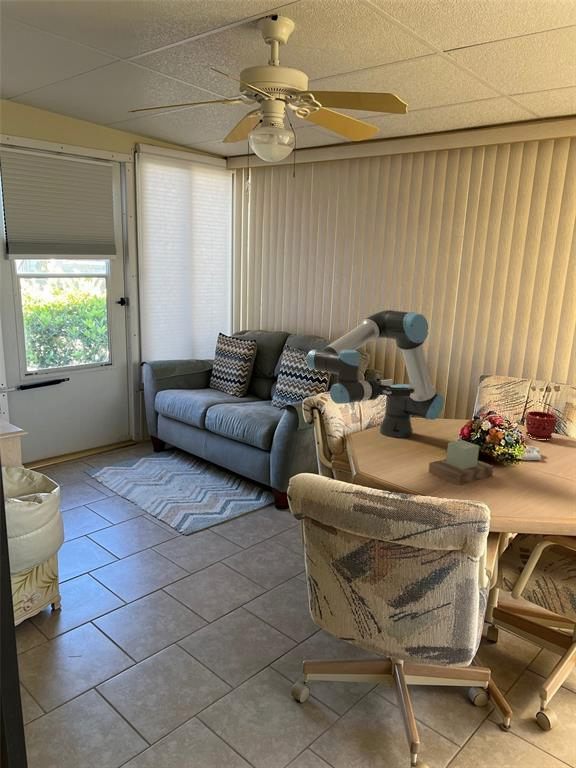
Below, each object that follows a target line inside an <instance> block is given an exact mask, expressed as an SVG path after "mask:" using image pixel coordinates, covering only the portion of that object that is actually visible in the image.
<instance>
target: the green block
mask: <svg viewBox="0 0 576 768" xmlns="http://www.w3.org/2000/svg"><path fill="white" fill-rule="evenodd" d="M479 451H480V445H478V444H476V443H472V442H468V441H466V440H463V439H460V440H455V441H450V442H448V443H447V451H446V458H445V459H446V463H448V464H450V465H453V466H456V467H458V468H461V469H467V468H471V467H475V466H477V460H478V459H479V453H480V452H479ZM478 461H479V460H478Z"/></svg>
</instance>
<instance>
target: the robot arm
mask: <svg viewBox="0 0 576 768" xmlns="http://www.w3.org/2000/svg"><path fill="white" fill-rule="evenodd" d="M428 330H429V324H428V320H427V318H426V317H425V316H424V315H423V314H421V313H417V312H414V311H410V312H407V311H398V310H392V309H387V310H381V311H379V312H375V313H374V314H372V315H368V317H366V318H365V319H363V320H361V322H360V323H359V325H358V326H357V327H355V328H354V329H353V328H352V330H350V331H348V332H347V333H346V334H344V335H342V336H341V337H340V338H338V339H336V340H334V341H333V342H331V343H330V344H328V345H327V346H325V347H324V348H322V349H311V350H310V351H309V352H308V353H307V355H306V360H305V361H306V364H307V367H308V368H310V369H312V370H315V371H319V372H326V373H329V374H334V375H337V382H336V383H333V384H332V385H331V388H330V389H329V396H330V399H331V401H332V402H333V403H335V404H338V405H339V404H340V405H341V404H342V405H343V404H345V405H346V404H351V403H356V402H358V403H361V402H362V401H363V402H365V401H373V400H376V399H378V397H379V396H385V397H386V399H385V401H386V402H385V412H384V413H385V414H384V418H383V419H382V422H381V425H380V426H379V433H380V434H382V435H383V436H387V437H391V438H392V437H393V438H410V437H412V436H413V427H412V421H411V416H413V417H414V416H415V417H417V418H421V419H425V420H431V421H432V420H436V419H438V418H439V416H440V415H441V414H442V410H443V408H444V406H445V397H444V396H443V395H441V394H438V393H437V388H436V387H435V386H434V385H432V382H431V378H430V373H429V369H428V364H427V361H426V360H427V359H426V355H425V351H424V347H423V345H424V343H425V342H426V340H427V337H428V335H429V332H428ZM384 338H385V339H391V340H394V341H395V344H396V347H397V348H398V349H399V350H401V351H402V353H401V354H402V356H403V361H404V365H405V368H406V372H407V377H408V381H409V383H408V384H406V383H402V384H399V383H398V384H393V382H394V379H392V378H390V379H381V380H380V378H376V379H367V380H359V374H360V373H359V371H360V352H359V351H357V350H358V349H360V348H362V347H363V346H364V345H367V343H368V342H372V341H373V342H374V341H376V340H377V339H384Z"/></svg>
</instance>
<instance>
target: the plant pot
mask: <svg viewBox="0 0 576 768" xmlns="http://www.w3.org/2000/svg"><path fill="white" fill-rule="evenodd" d="M525 418H526V419H525V428H526V431H525V435H526V436H529V437H532V438H536V439H546V440H547V439H551V438H553V435H552V434H553V433H554V431H555V430H556V429H555V428H556V423H557V419H558V418H557V416H556V415H555V414H553V413H550V412H545V411H540V410H539V411H535V410H534V411H533V410H532V411H528V412H526V416H525ZM528 434H530V435H531V436H530V435H528ZM529 437H528V438H529ZM551 440H552V439H551Z"/></svg>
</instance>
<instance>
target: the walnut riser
mask: <svg viewBox="0 0 576 768" xmlns="http://www.w3.org/2000/svg"><path fill="white" fill-rule="evenodd" d="M428 465H429V466H428V473H429V474H431V475H432V476H435V477H438V478H440V479H442V480H445V481H448V482H450V483H451V484H454V485H457V486H461V485H464V484H467V483H471V482H474V481H478V480H482V479H486V478H489V477H493V472H494V465H491V464H489V463H486V462H483V461H480V460H477V466H475V467H471V468H467V469H461V468H458V467H456V466H453V465H450V464H448V463H446V458H445V459H444V458H443V459H441V460H436V461H433V462H429V464H428Z"/></svg>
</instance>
